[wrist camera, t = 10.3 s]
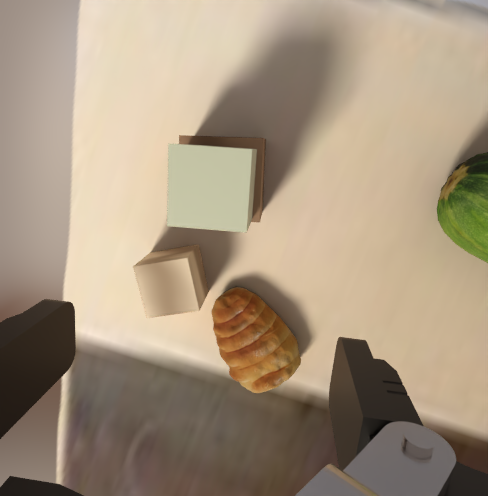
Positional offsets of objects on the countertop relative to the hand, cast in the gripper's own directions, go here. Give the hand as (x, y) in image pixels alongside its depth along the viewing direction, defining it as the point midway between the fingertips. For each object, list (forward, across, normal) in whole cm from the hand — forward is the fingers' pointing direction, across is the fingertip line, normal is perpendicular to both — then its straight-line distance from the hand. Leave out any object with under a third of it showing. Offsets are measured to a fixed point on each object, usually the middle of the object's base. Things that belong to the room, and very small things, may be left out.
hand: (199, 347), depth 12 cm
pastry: (+24, -1, +12) cm, 26 cm away
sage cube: (+18, +3, -3) cm, 19 cm away
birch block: (+23, +6, +6) cm, 25 cm away
